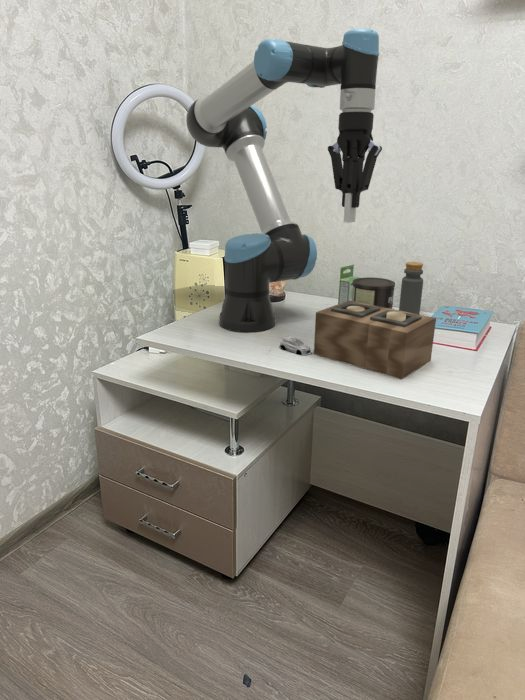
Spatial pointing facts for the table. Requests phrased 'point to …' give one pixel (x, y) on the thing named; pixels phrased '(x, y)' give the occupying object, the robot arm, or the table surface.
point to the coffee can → (373, 291)
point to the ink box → (346, 284)
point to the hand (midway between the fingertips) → (349, 221)
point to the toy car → (295, 346)
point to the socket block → (374, 338)
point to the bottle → (411, 288)
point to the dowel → (396, 316)
